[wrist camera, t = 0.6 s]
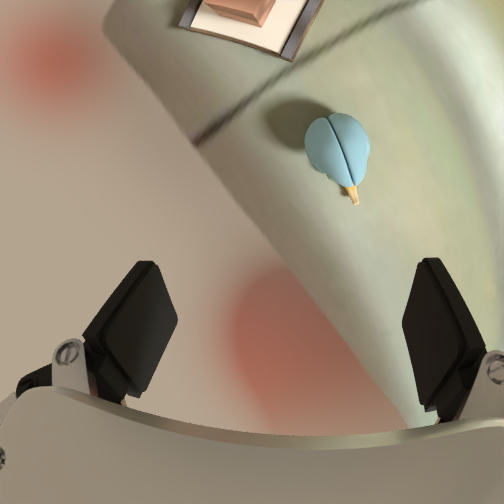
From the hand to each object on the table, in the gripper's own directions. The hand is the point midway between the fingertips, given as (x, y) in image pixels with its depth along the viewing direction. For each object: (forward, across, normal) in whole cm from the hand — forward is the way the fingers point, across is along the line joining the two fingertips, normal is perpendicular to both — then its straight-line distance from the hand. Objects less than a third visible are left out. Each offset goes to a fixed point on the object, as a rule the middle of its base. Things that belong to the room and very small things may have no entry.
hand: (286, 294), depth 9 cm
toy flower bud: (+27, -5, +2) cm, 28 cm away
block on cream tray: (+25, +4, -18) cm, 31 cm away
